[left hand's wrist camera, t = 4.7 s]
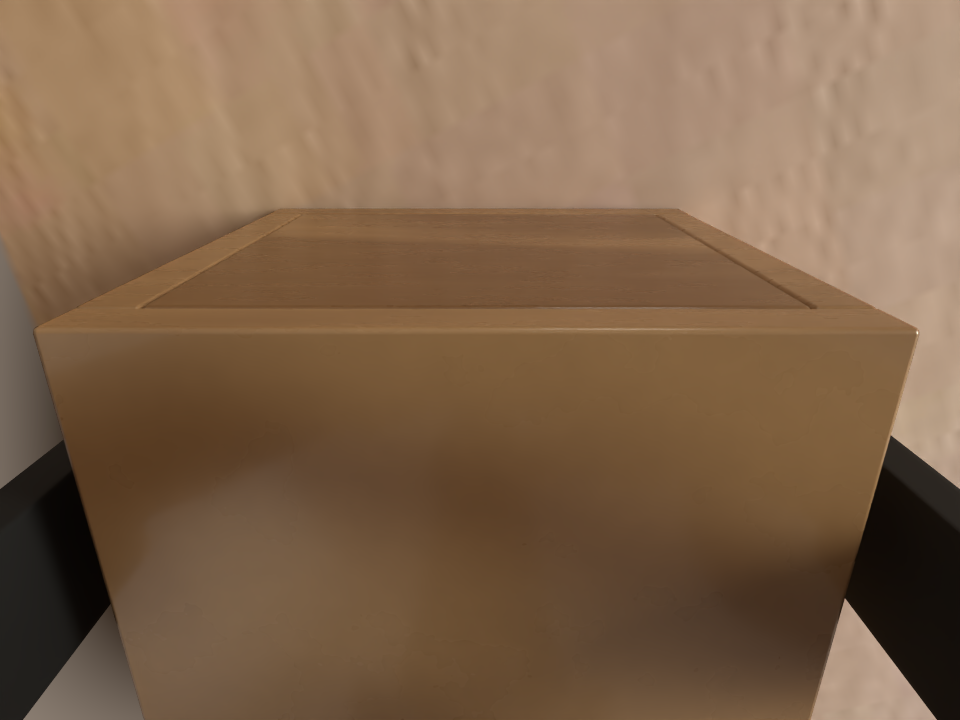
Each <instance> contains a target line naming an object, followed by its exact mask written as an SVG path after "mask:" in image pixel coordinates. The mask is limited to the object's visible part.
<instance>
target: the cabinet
mask: <svg viewBox="0 0 960 720" xmlns="http://www.w3.org/2000/svg"><path fill="white" fill-rule="evenodd" d="M33 335H34V338H35V342H36V345H37V349H38V352H39V356H40V359H41V363H42V366H43V369H44V373H45V376H46V380H47V383H48V387H49V390H50V394H51V397H52V401H53V404H54V408H55V411H56V415H57V418H58V422H59V425H60V429H61V432H62V436H63V439H64V443H65V446H66V450H67V453H68V457H69V460H70V464H71V467H72V470H73V474H74V477H75V481H76V484H77V488H78V491H79V495H80V498H81V502H82V505H83V509H84V512H85V516H86V519H87V523H88V526H89V530H90V533H91V537H92V540H93V544H94V547H95V551H96V554H97V557H98V561H99V564H100V568H101V571H102V575H103V578H104V582H105V585H106V589H107V592H108V596H109V599H110V603H111V606H112V609H113V613H114V617H115V620H116V624H117V627H118V631H119V634H120V638H121V641H122V645H123V648H124V651H125V655H126V658H127V662H128V665H129V669H130V672H131V676H132V679H133V683H134V686H135V690H136V693H137V697H138V700H139V704H140V707H141V711H142V714H143V718H144V720H810V719H811V716H812V712H813V709H814V705H815V702H816V698H817V695H818V691H819V687H820V684H821V680H822V677H823V673H824V670H825V666H826V663H827V659H828V656H829V652H830V649H831V645H832V641H833V638H834V634H835V631H836V627H837V624H838V620H839V617H840V613H841V610H842V606H843V603H844V599H845V595H846V592H847V588H848V585H849V581H850V578H851V574H852V571H853V567H854V564H855V560H856V556H857V553H858V549H859V546H860V542H861V539H862V535H863V532H864V528H865V525H866V521H867V518H868V514H869V510H870V507H871V503H872V500H873V496H874V493H875V489H876V486H877V482H878V479H879V475H880V472H881V468H882V464H883V461H884V457H885V454H886V450H887V447H888V443H889V440H890V436H891V433H892V429H893V426H894V422H895V418H896V415H897V411H898V408H899V404H900V401H901V397H902V394H903V390H904V387H905V383H906V379H907V376H908V372H909V369H910V365H911V362H912V358H913V355H914V351H915V348H916V344H917V341H918V337H919V330H918V329H917V328H916V327H914V326H912V325H910V324H908V323H906V322H904V321H902V320H899V319H897V318H895V317H893V316H891V315H889V314H887V313H885V312H883V311H881V310H879V309H876V308H875V307H873V306H871V305H869V304H867V303H865V302H863V301H861V300H859V299H857V298H855V297H853V296H851V295H849V294H847V293H845V292H843V291H841V290H839V289H837V288H835V287H833V286H831V285H829V284H827V283H825V282H823V281H821V280H819V279H817V278H815V277H813V276H811V275H809V274H807V273H805V272H803V271H801V270H799V269H797V268H795V267H793V266H791V265H789V264H787V263H785V262H783V261H781V260H779V259H777V258H775V257H773V256H771V255H769V254H767V253H765V252H763V251H761V250H759V249H757V248H755V247H753V246H751V245H749V244H747V243H745V242H743V241H741V240H738V239H736V238H734V237H732V236H730V235H728V234H726V233H724V232H722V231H720V230H718V229H716V228H714V227H712V226H710V225H708V224H706V223H704V222H702V221H700V220H698V219H696V218H694V217H692V216H690V215H688V214H687V213H685V212H683V211H681V210H679V209H279V210H277V211H275V212H273V213H270V214H269V215H267V216H265V217H262V218H260V219H258V220H256V221H254V222H252V223H250V224H248V225H246V226H244V227H242V228H240V229H238V230H236V231H233V232H231V233H229V234H227V235H225V236H223V237H221V238H219V239H217V240H215V241H213V242H211V243H209V244H206V245H204V246H202V247H200V248H198V249H196V250H194V251H192V252H190V253H188V254H186V255H184V256H182V257H179V258H177V259H175V260H173V261H171V262H169V263H167V264H165V265H163V266H161V267H159V268H157V269H155V270H152V271H150V272H148V273H146V274H144V275H142V276H140V277H138V278H136V279H134V280H132V281H130V282H128V283H125V284H123V285H121V286H119V287H117V288H115V289H113V290H111V291H109V292H107V293H105V294H103V295H101V296H99V297H96V298H94V299H92V300H90V301H88V302H86V303H84V304H82V305H80V306H78V307H77V308H76V309H73V310H71V311H69V312H67V313H64V314H62V315H60V316H58V317H56V318H54V319H52V320H50V321H48V322H46V323H44V324H42V325H40V326H38V327H36V328H35V329H34V331H33Z"/></svg>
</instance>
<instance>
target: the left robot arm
mask: <svg viewBox="0 0 960 720" xmlns="http://www.w3.org/2000/svg"><path fill="white" fill-rule="evenodd" d="M845 599H846V600H847V601H848V603H849V604H850V605H851V607H852V608H853V609H854V610H855V612H856V613H857V614H858V616H859V617H860V618H861V620H862V621H863V622H864V624H865V625H866V626H867V628H868V629H869V630H870V632H871V633H872V634H873V636H874V637H875V638H876V640H877V641H878V642H879V644H880V645H881V646H882V648H883V649H884V650H885V652H886V653H887V654H888V655H889V657H890V658H891V659H892V661H893V662H894V663H895V665H896V666H897V667H898V669H899V670H900V671H901V673H902V674H903V675H904V677H905V678H906V679H907V681H908V682H909V683H910V685H911V686H912V687H913V689H914V690H915V691H916V693H917V694H918V695H919V696H920V698H921V699H922V700H923V702H924V703H925V704H926V706H927V707H928V708H929V710H930V711H931V712H932V714H933V715H934V716H935V718H936V719H937V720H960V489H959V488H958V487H956V486H955V485H954V484H952V483H951V482H950V481H949V480H947V479H946V478H945V477H944V476H942V475H941V474H940V473H938V472H937V471H936V470H935V469H933V468H932V467H931V466H929V465H928V464H927V463H926V462H924V461H923V460H922V459H920V458H919V457H918V456H917V455H915V454H914V453H913V452H911V451H910V450H909V449H908V448H906V447H905V446H904V445H902V444H901V443H900V442H899V441H897V440H896V439H895V438H894V437H892V436H890V440H889V443H888V447H887V450H886V454H885V457H884V461H883V464H882V468H881V472H880V475H879V479H878V482H877V486H876V489H875V493H874V496H873V500H872V503H871V507H870V510H869V514H868V518H867V521H866V525H865V528H864V532H863V535H862V539H861V542H860V546H859V549H858V553H857V556H856V560H855V564H854V567H853V571H852V574H851V578H850V581H849V585H848V588H847V592H846V595H845ZM110 604H111V603H110V599H109V596H108V592H107V589H106V585H105V582H104V578H103V575H102V571H101V568H100V564H99V561H98V557H97V554H96V551H95V547H94V544H93V540H92V537H91V533H90V530H89V526H88V523H87V519H86V516H85V512H84V509H83V505H82V502H81V498H80V495H79V491H78V488H77V484H76V481H75V477H74V474H73V470H72V467H71V464H70V460H69V457H68V453H67V450H66V446H65V443H64V440H63V441H61V442H60V443H59V444H58V445H56V446H55V447H54V448H52V449H51V450H50V451H49V452H47V453H46V454H45V455H43V456H42V457H41V458H40V459H38V460H37V461H36V462H34V463H33V464H32V465H31V466H29V467H28V468H27V469H26V470H24V471H23V472H22V473H20V474H19V475H18V476H16V477H15V478H14V479H13V480H11V481H10V482H9V483H8V484H6V485H5V486H4V487H2V488H1V489H0V720H23V719H24V718H25V716H26V715H27V714H28V712H29V711H30V710H31V708H32V707H33V706H34V704H35V703H36V702H37V700H38V699H39V698H40V696H41V695H42V694H43V692H44V691H45V690H46V689H47V687H48V686H49V685H50V683H51V682H52V681H53V679H54V678H55V677H56V675H57V674H58V673H59V671H60V670H61V669H62V667H63V666H64V665H65V663H66V662H67V661H68V659H69V658H70V657H71V655H72V654H73V653H74V652H75V650H76V649H77V648H78V646H79V645H80V644H81V642H82V641H83V640H84V638H85V637H86V636H87V634H88V633H89V632H90V630H91V629H92V628H93V626H94V625H95V624H96V622H97V621H98V620H99V618H100V617H101V616H102V614H103V613H104V612H105V610H106V609H107V608H108V606H109V605H110Z"/></svg>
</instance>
